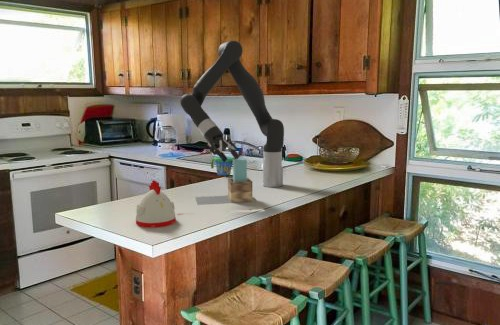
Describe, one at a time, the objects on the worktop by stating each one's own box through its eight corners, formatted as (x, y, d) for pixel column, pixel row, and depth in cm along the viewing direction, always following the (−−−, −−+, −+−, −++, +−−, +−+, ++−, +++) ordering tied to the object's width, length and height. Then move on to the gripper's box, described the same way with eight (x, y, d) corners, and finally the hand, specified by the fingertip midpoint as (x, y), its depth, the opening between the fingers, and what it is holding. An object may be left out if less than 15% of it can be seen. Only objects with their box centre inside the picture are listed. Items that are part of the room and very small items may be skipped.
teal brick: (244, 181, 187) (244, 158, 185) (246, 183, 182) (246, 160, 181) (233, 182, 186) (232, 158, 185) (234, 184, 181) (234, 160, 180)
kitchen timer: (145, 230, 146) (143, 186, 144) (130, 221, 157) (128, 180, 155) (182, 223, 154) (181, 181, 152) (165, 214, 165) (164, 175, 163)
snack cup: (240, 174, 249) (240, 157, 248) (230, 177, 240) (230, 159, 239) (217, 172, 257) (217, 155, 255) (207, 175, 248) (207, 157, 246)
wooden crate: (248, 196, 190) (248, 177, 189) (252, 201, 181) (252, 181, 180) (228, 197, 188) (227, 178, 187) (231, 202, 180) (230, 182, 179)
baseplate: (249, 196, 194) (249, 194, 194) (255, 204, 180) (255, 201, 180) (195, 199, 189) (195, 197, 189) (197, 207, 176) (197, 204, 176)
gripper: (204, 126, 182) (226, 155, 177) (225, 124, 193) (246, 151, 189) (195, 138, 185) (216, 167, 181) (215, 135, 197) (236, 162, 192)
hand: (232, 159), depth 185 cm, fingers open, 8 cm apart
